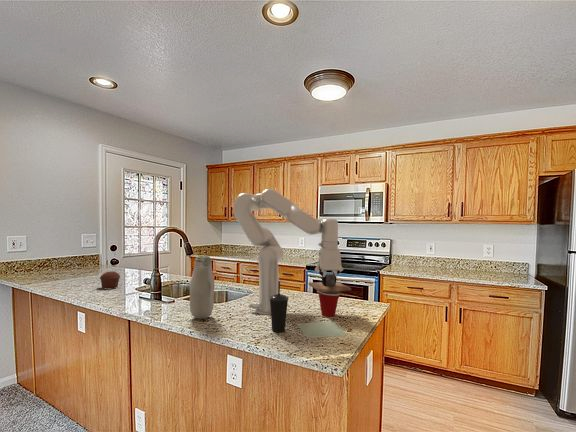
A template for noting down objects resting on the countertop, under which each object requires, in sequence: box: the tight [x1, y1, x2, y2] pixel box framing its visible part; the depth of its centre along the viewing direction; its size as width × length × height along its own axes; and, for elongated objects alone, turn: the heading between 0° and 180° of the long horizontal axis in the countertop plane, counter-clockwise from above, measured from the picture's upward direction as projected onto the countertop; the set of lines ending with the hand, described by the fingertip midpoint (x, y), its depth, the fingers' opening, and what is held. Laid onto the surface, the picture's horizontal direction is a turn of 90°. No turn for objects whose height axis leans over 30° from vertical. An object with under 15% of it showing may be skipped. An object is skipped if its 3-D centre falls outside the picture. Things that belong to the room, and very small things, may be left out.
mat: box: [296, 320, 349, 339], centre depth 119 cm, size 16×16×1 cm
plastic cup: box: [317, 291, 341, 318], centre depth 138 cm, size 11×11×12 cm
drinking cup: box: [269, 280, 289, 334], centre depth 117 cm, size 8×8×20 cm
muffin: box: [99, 270, 121, 289], centre depth 191 cm, size 12×11×10 cm
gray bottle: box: [189, 254, 215, 320], centre depth 133 cm, size 10×10×28 cm
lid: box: [308, 273, 352, 292], centre depth 138 cm, size 15×15×6 cm
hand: (329, 284), depth 138 cm, fingers closed on lid, 3 cm apart
